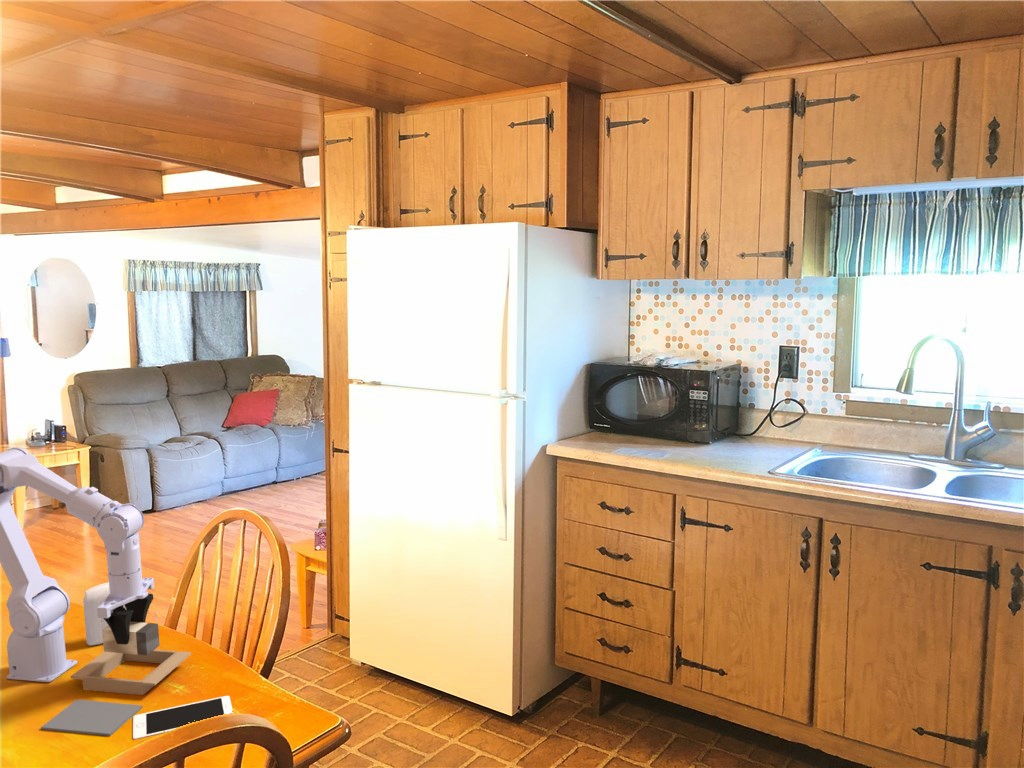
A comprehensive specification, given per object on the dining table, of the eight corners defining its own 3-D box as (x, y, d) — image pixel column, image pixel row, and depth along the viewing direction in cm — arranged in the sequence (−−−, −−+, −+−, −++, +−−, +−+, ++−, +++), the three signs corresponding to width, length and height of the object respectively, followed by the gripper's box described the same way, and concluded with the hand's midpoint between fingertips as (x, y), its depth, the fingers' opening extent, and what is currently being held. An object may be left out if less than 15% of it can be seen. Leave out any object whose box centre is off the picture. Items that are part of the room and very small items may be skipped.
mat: (41, 729, 140) (41, 727, 140) (77, 701, 149) (76, 699, 149) (110, 736, 138) (109, 733, 138) (142, 707, 147) (142, 705, 147)
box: (103, 651, 156) (102, 629, 155) (117, 642, 160) (115, 620, 159) (147, 655, 154) (145, 632, 154) (159, 645, 158) (158, 623, 158)
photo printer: (138, 628, 178) (133, 574, 176) (141, 636, 175) (137, 580, 173) (85, 640, 173) (80, 585, 171) (88, 648, 169) (82, 591, 167)
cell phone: (133, 718, 144) (133, 715, 144) (229, 698, 150) (229, 694, 150) (133, 742, 137) (132, 738, 137) (234, 719, 143) (233, 716, 143)
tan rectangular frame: (71, 688, 153) (70, 676, 153) (113, 657, 165) (112, 646, 165) (155, 696, 150) (154, 683, 150) (191, 664, 162) (191, 652, 162)
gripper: (119, 586, 147) (125, 657, 149) (166, 557, 161) (170, 622, 163) (84, 583, 148) (90, 654, 150) (133, 555, 162) (138, 620, 164)
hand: (130, 637), depth 157 cm, fingers closed on box, 4 cm apart
